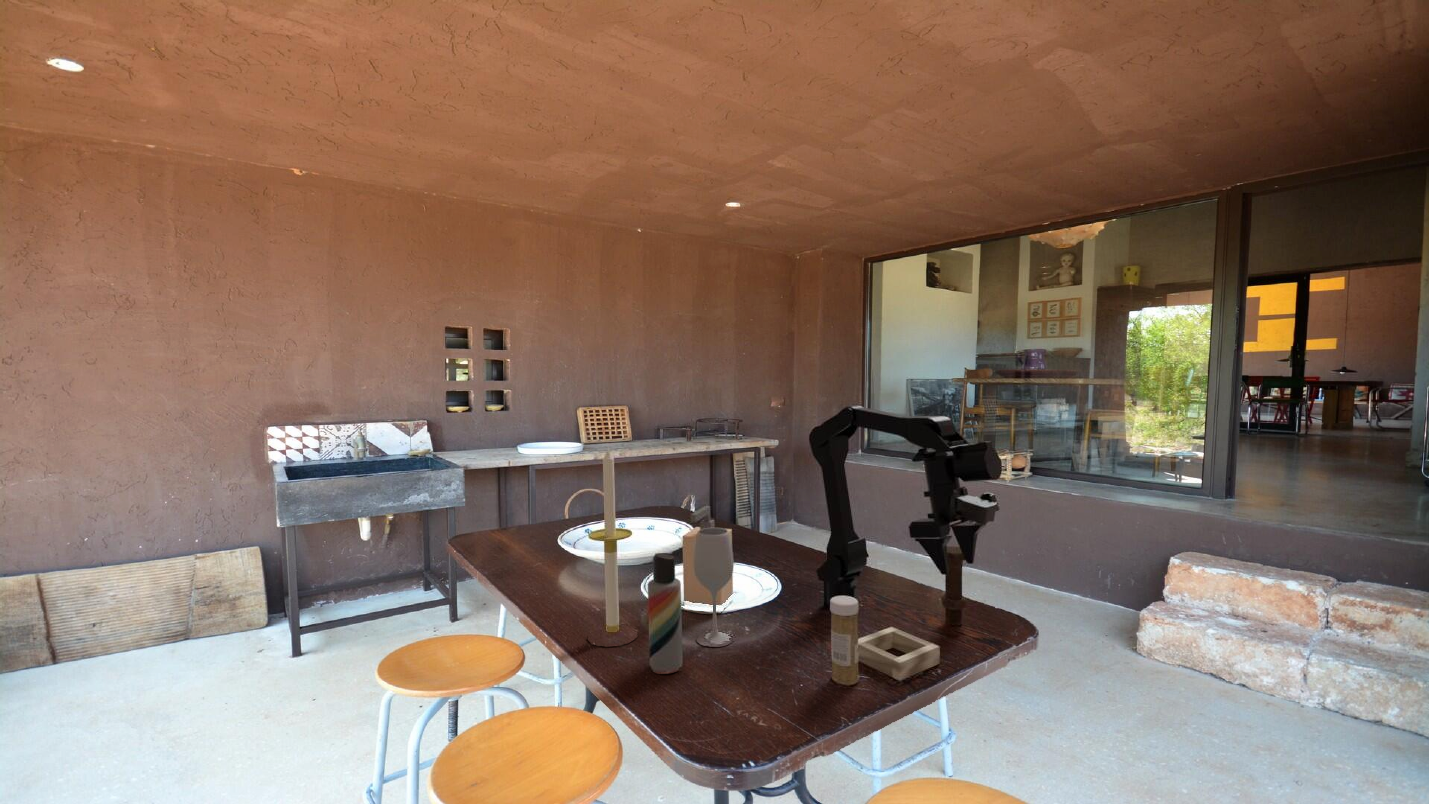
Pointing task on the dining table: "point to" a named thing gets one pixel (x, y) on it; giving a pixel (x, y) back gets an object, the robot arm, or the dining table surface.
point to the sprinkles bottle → (844, 639)
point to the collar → (902, 667)
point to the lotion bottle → (664, 615)
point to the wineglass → (714, 568)
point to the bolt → (954, 587)
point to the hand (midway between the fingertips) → (957, 568)
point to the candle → (610, 544)
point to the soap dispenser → (691, 585)
